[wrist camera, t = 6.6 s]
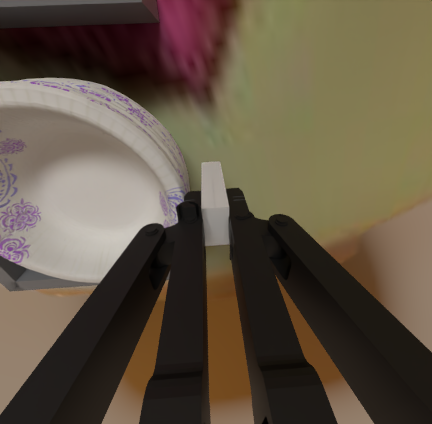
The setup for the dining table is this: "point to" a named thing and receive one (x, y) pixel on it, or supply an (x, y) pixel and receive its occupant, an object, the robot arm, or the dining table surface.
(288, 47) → the dining table surface
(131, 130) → the paper bowls
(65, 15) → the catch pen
